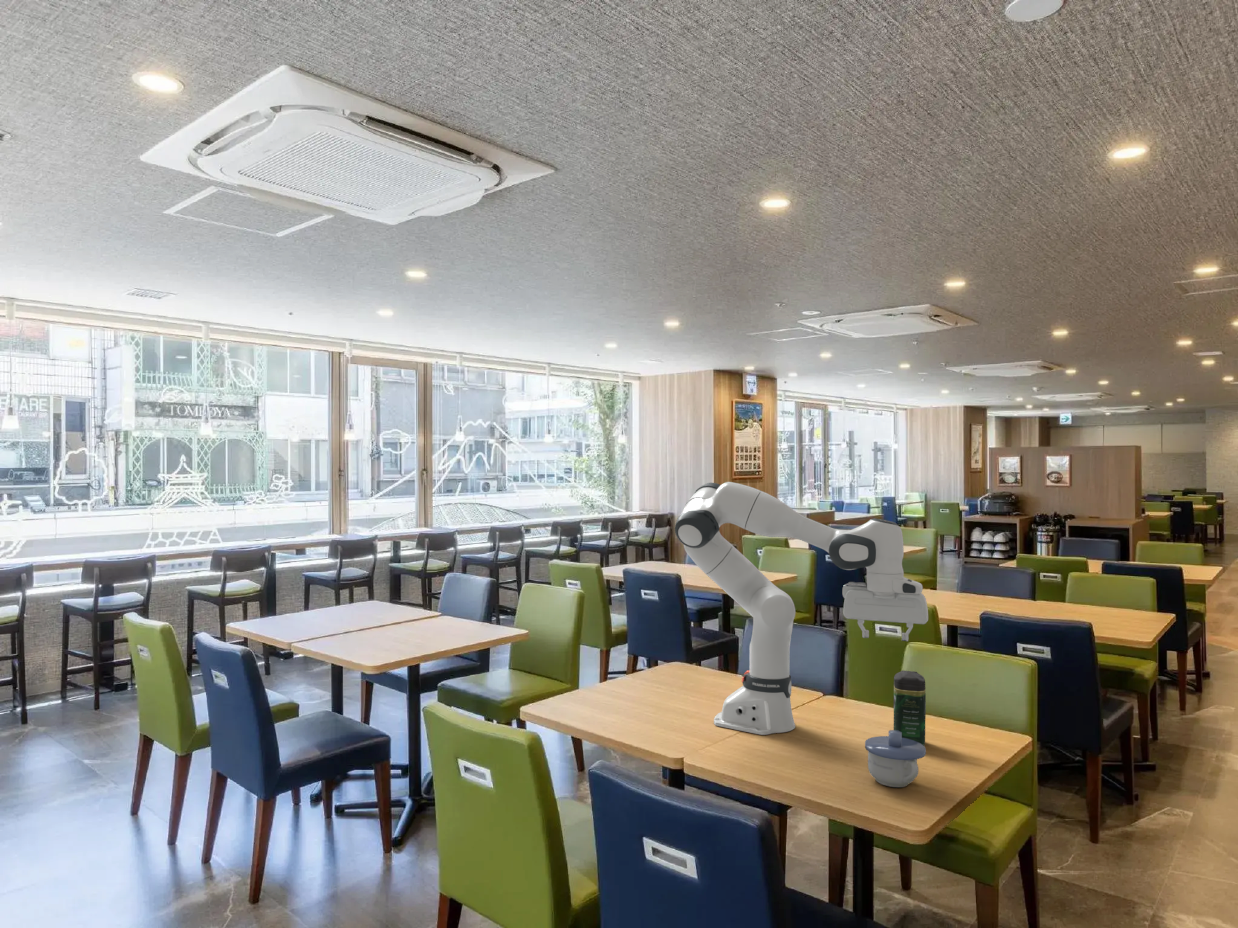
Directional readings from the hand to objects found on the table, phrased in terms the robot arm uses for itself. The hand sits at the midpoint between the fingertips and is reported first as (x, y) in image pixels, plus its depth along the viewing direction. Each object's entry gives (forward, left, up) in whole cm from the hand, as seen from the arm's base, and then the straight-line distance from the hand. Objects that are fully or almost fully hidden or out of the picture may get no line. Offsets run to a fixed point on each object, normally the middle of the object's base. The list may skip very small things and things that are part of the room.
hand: (885, 638), depth 199 cm
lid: (+4, -19, -21) cm, 29 cm away
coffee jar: (+5, +12, -29) cm, 32 cm away
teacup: (+4, -19, -29) cm, 35 cm away
